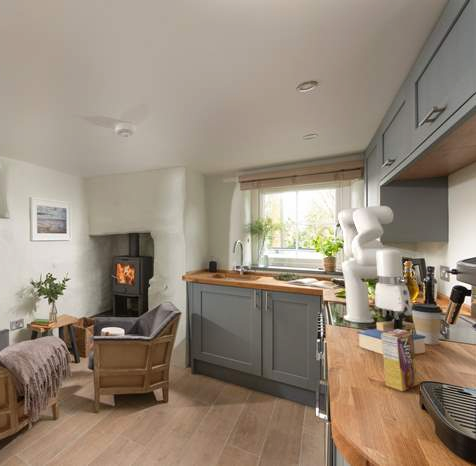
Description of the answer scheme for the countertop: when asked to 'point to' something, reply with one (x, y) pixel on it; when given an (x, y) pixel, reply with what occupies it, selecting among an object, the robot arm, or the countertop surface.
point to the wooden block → (390, 325)
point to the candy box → (399, 359)
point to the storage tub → (374, 341)
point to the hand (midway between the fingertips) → (393, 327)
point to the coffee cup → (427, 321)
